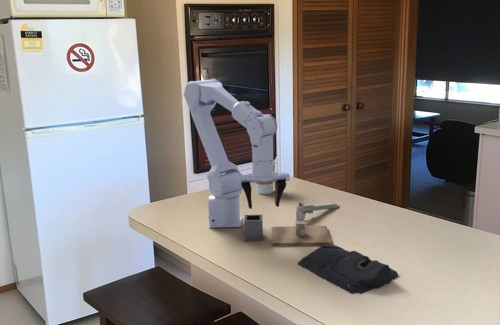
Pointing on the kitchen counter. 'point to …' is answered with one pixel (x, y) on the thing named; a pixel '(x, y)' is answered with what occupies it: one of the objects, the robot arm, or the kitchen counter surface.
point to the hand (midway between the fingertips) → (263, 206)
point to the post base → (300, 235)
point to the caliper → (311, 209)
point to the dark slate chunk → (347, 269)
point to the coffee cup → (266, 183)
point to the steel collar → (253, 227)
